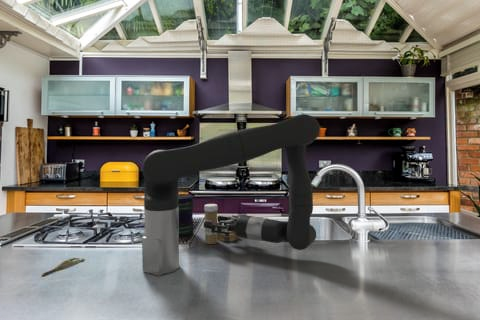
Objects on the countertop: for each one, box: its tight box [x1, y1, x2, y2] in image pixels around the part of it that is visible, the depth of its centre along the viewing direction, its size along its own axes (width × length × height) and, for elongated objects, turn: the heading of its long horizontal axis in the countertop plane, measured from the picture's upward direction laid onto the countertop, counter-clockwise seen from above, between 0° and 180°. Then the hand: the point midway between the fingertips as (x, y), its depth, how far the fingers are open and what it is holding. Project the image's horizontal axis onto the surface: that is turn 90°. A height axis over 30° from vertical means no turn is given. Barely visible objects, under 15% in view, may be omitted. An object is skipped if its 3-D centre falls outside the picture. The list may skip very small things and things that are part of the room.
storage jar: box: [178, 193, 195, 240], centre depth 115 cm, size 10×10×15 cm
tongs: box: [41, 257, 86, 278], centre depth 86 cm, size 4×13×2 cm, turn 166°
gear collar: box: [217, 231, 238, 242], centre depth 112 cm, size 7×7×2 cm
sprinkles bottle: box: [204, 203, 219, 245], centre depth 107 cm, size 5×5×14 cm
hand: (211, 221), depth 107 cm, fingers open, 8 cm apart
